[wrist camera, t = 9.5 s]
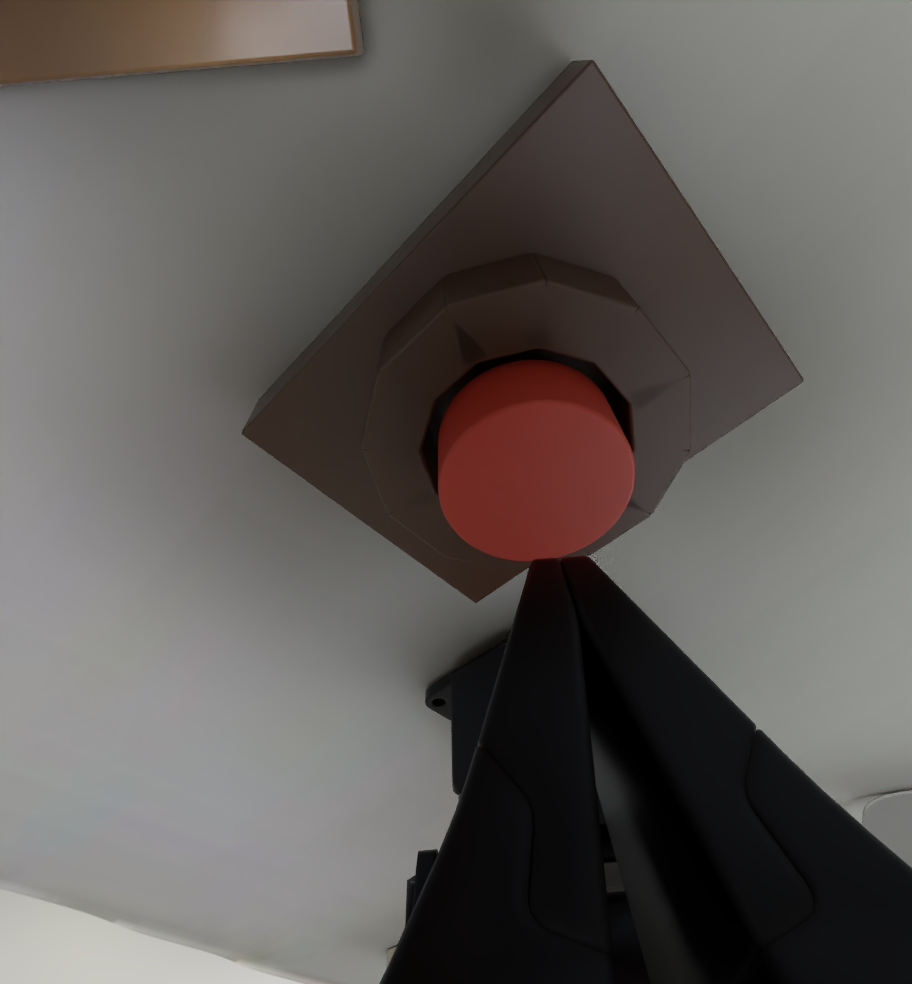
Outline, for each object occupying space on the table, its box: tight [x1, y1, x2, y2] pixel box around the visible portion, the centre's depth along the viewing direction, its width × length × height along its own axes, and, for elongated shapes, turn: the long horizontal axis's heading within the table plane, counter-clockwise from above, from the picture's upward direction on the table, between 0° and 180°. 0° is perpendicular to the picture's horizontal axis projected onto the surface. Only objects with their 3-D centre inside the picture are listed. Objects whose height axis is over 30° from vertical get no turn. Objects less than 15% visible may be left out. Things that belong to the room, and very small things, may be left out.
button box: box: [242, 60, 803, 603], centre depth 13 cm, size 8×10×4 cm
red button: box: [438, 360, 635, 561], centre depth 11 cm, size 4×4×2 cm
